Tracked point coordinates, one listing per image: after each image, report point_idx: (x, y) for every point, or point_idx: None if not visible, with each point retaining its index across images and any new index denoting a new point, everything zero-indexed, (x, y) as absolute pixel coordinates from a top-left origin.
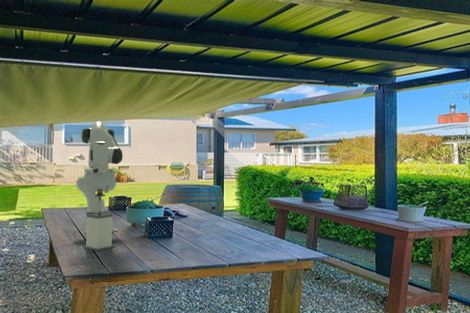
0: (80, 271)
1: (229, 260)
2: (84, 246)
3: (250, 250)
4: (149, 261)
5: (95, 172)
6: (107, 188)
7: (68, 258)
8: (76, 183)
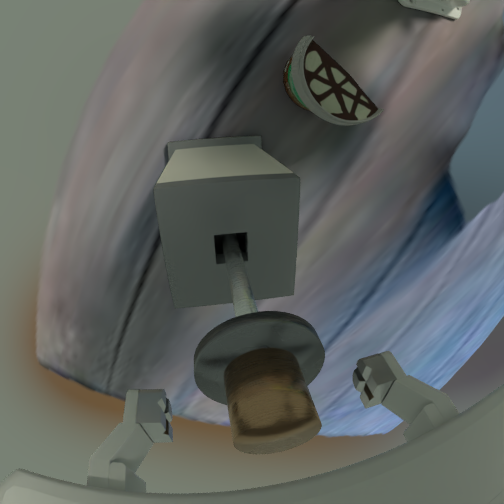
0: (60, 358)
1: None
2: (170, 145)
3: None
4: None
5: None
6: (401, 405)
7: (60, 250)
8: None
